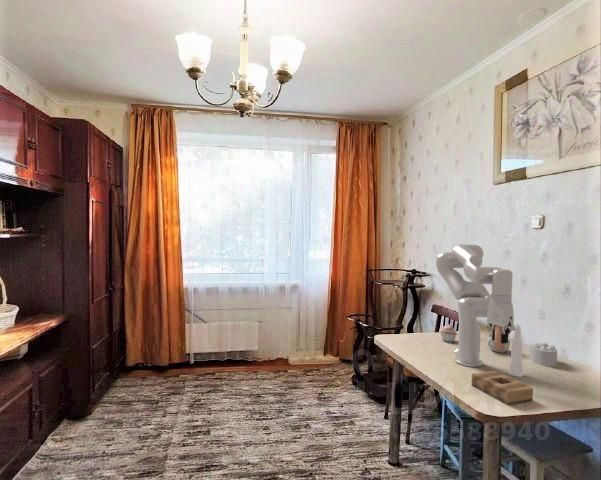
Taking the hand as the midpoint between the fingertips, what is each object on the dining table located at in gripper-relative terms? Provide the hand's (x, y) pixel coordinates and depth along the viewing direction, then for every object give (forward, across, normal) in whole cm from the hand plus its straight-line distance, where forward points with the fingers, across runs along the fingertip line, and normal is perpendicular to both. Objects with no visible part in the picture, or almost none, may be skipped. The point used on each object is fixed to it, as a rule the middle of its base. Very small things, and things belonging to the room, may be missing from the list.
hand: (499, 341), depth 162 cm
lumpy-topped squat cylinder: (+17, -13, +42) cm, 47 cm away
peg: (+3, 0, 0) cm, 3 cm away
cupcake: (+17, -55, +20) cm, 61 cm away
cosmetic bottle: (+17, -4, +14) cm, 23 cm away
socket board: (+17, +10, -9) cm, 22 cm away
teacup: (+17, -33, +32) cm, 50 cm away
